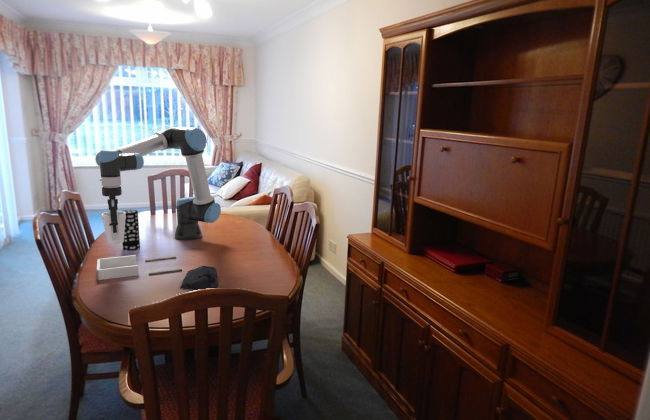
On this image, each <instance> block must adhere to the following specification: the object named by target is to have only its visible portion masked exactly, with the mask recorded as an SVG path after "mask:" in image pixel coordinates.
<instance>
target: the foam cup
mask: <svg viewBox="0 0 650 420" xmlns="http://www.w3.org/2000/svg"><path fill="white" fill-rule="evenodd" d="M122 211H123V210H117V222H118V231H119V240H112V232H111V226H109V224H111V215H110V211H107V212H103V213H101V220H102V223H103V227H104V232H105V237H106V242H107V244H109V245H120V244H122V243H123V242H124V231H125V219H126V213H125V212H122ZM115 222H116V221H115Z"/></svg>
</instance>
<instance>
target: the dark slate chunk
mask: <svg viewBox="0 0 650 420" xmlns="http://www.w3.org/2000/svg"><path fill="white" fill-rule="evenodd" d="M218 281H219V280H218V274H217V268H216V266H210V265H209V266H208V265H202V266H201V265H200V266H198V267H196V268H192V269H190V270H187V272H186V274H185V276H184V278H183V279H182V282H181V285H180V286H179V289H181V290H184V291H188V290H195V291H196V290H198V289H200V290H206V289H205V288H209V289H213V288H217V287H218V286H219V285H218V284H219V282H218Z"/></svg>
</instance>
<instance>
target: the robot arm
mask: <svg viewBox="0 0 650 420" xmlns="http://www.w3.org/2000/svg"><path fill="white" fill-rule="evenodd" d="M207 140H208V139H207V136H206V133H205V132H204V131H203V130H202V129H201V128H199V127H193V126H172V127H168V128H165V129H163V130H160V131H155V132H154V134H152V135H151V136H150V137H149V136H148V137H146V138H143V139H140V140H137V141H135V142H132V143H130V144H126V145H123V146H120V147H118V148H114V149H103V150H100V151H99V152H97V154H96V155H95V158H94V159H95V160H94V161H95V163H96V165H97V166H99V170H100V178H99V182H101V186H102V187H101V193H102V196H103V197H108V199H107V205H108V210H109V212H110V215H111V224H109V226H111V232H112V240H119V231H118V222H117V211H118V208H119V207H118V204H119V203H118V202H119V201H118V198H117V197H119V196H122V194H123V193H122V192H123V191H122V190H123V189H122V186H121V185H122V178H121V177H122V176H121V172H126V171H129V172H130V171H137V170H141V169H142V168H143V167H144V163H145V160H144V157H145V156H147V155H150V154H153V153H155V152H157V151H165V150H174V149H175V150H180V153H181V156H182V157H184V158H185V161H186V162H185V163H186V166H187V170H188V173H189V178H190V179H189V180H190V182H191V183H190V184H191V187H192V193H193V196H188V197H187V196H186V197H181V198H178V199H177V200H176V206H175V209H176V222H177V223H176V228H175V231H174V238H175V239H177V240H181V241H189V240H190V241H191V240H192V241H193V240H197V239H200V238H202V237H203V233H202V229H201V226H200V224H199V222H200V223H201V222H202V223H206V224H213V223H216V222H217V221H218V220H219V219H220V215H221V213H222V207H221V204H220V203H218V202H216V201H215V197H214V195H212V193H211V190H210V186H209V182H208V177H207V173H206V168H205V163H204V159H203V158H204V157H203V153H204V152H205V149H206V147H207V142H208V141H207ZM115 221H116V222H115Z"/></svg>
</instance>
